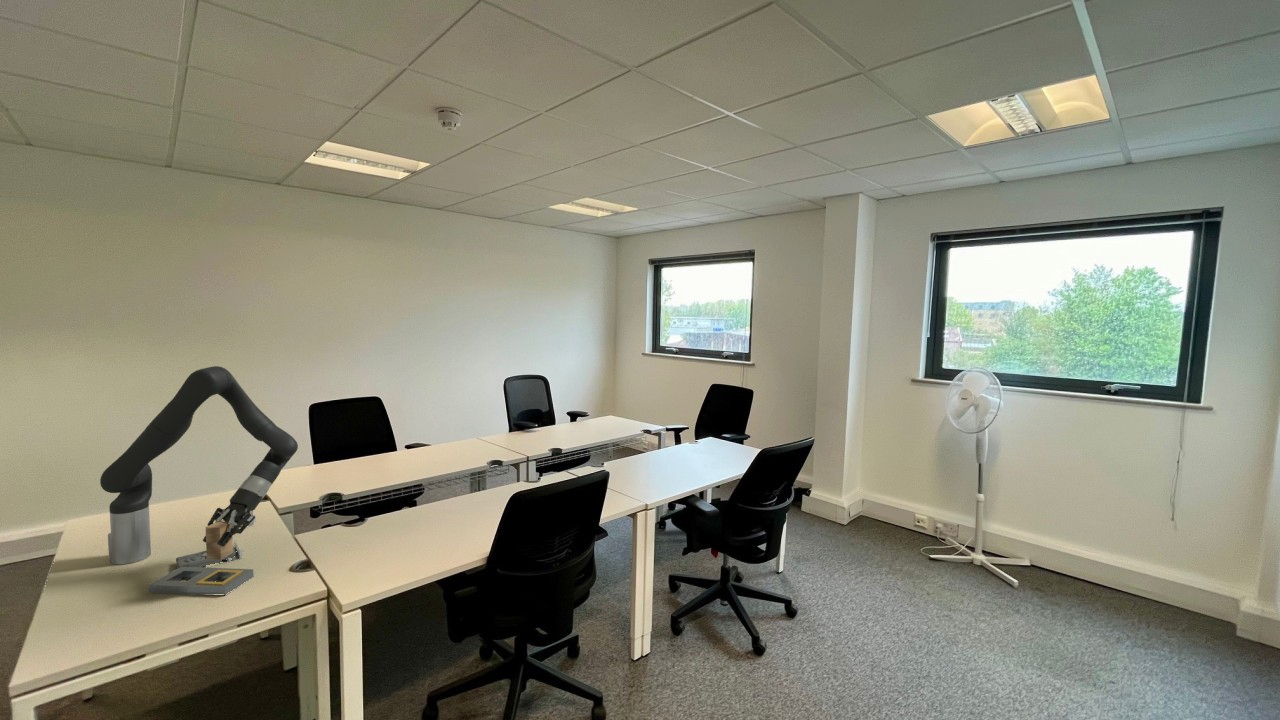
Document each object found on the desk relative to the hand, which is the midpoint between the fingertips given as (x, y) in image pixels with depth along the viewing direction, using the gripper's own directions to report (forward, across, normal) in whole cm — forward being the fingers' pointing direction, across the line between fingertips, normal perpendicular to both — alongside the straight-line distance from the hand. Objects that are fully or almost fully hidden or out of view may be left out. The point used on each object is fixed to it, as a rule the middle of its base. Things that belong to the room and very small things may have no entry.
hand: (213, 543), depth 152 cm
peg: (+2, 0, +5) cm, 5 cm away
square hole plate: (+10, -5, +10) cm, 15 cm away
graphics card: (+2, -20, +19) cm, 28 cm away
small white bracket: (-14, -39, +35) cm, 54 cm away
